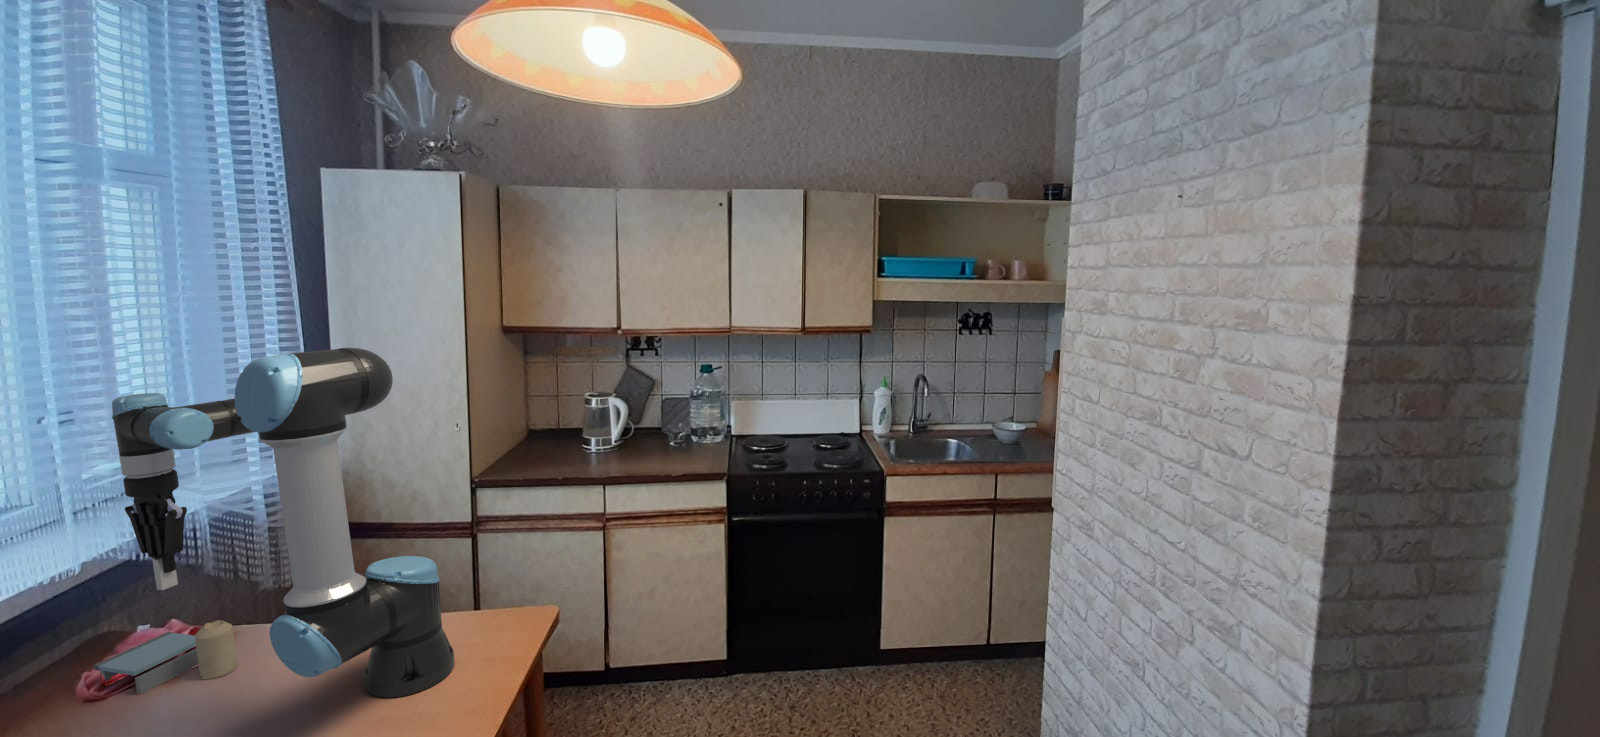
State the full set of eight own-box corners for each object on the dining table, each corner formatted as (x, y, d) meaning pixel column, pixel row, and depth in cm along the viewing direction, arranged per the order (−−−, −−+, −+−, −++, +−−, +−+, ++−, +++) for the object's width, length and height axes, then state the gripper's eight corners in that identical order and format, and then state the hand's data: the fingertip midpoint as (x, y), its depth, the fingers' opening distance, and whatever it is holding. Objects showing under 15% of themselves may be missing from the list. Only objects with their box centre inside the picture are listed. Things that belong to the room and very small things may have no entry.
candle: (215, 681, 125) (209, 633, 124) (192, 677, 126) (186, 629, 125) (244, 665, 131) (239, 618, 129) (222, 661, 132) (216, 615, 130)
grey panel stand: (212, 657, 133) (210, 643, 132) (140, 694, 121) (138, 678, 121) (176, 650, 135) (174, 636, 135) (102, 685, 124) (100, 670, 123)
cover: (206, 641, 133) (206, 636, 132) (134, 676, 121) (133, 671, 121) (168, 636, 135) (167, 631, 135) (94, 669, 124) (93, 664, 124)
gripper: (196, 469, 130) (213, 581, 133) (148, 465, 133) (165, 575, 136) (152, 480, 123) (170, 598, 126) (101, 476, 126) (120, 592, 129)
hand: (167, 586), depth 131 cm, fingers closed
